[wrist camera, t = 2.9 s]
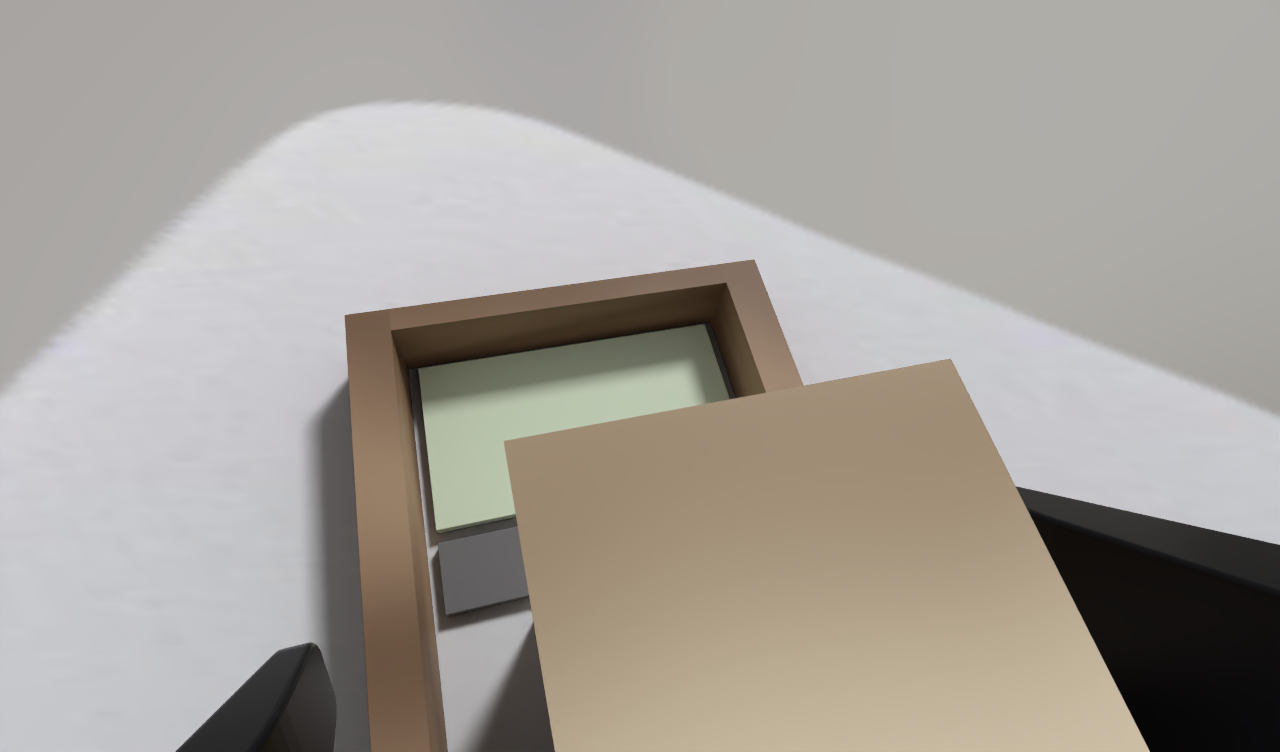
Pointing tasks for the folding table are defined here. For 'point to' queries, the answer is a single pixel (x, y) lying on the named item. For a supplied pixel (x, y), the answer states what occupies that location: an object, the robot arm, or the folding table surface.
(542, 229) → the folding table surface
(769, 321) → the brown rectangular frame
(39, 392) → the folding table surface
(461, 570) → the pads
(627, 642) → the maple block
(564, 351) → the pad
